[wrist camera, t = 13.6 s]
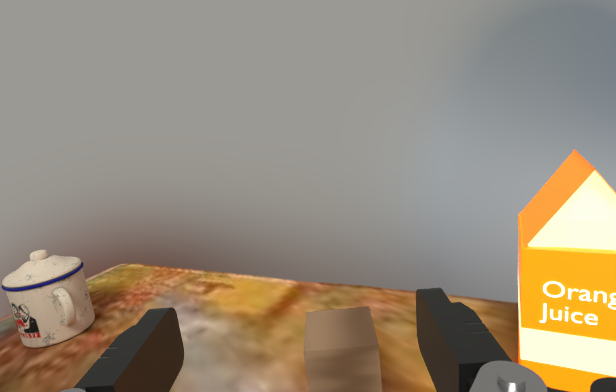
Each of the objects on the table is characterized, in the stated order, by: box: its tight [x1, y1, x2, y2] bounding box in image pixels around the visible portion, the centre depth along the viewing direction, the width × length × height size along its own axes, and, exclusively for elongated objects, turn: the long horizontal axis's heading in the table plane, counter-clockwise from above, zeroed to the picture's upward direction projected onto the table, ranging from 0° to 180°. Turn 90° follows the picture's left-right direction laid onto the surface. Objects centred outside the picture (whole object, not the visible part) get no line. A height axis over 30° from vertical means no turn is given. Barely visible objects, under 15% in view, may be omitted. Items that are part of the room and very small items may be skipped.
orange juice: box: [518, 150, 616, 392], centre depth 28 cm, size 8×9×20 cm
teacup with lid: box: [2, 250, 95, 348], centre depth 49 cm, size 12×9×12 cm
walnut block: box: [304, 307, 383, 392], centre depth 25 cm, size 4×4×10 cm
